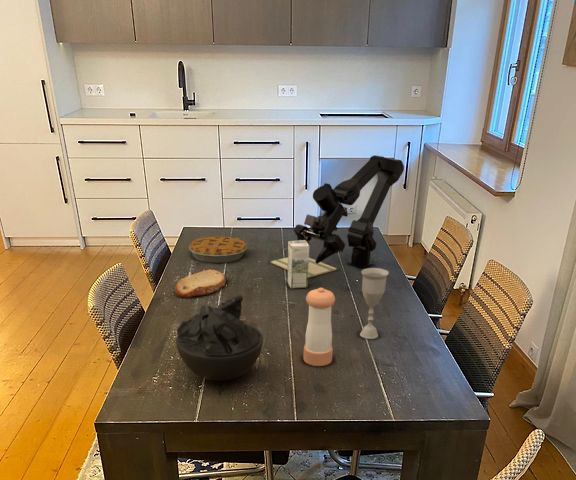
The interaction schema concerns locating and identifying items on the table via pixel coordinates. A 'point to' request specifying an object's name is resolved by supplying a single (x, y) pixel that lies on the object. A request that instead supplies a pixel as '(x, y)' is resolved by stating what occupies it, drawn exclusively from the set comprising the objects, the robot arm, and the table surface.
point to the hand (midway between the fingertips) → (305, 259)
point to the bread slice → (200, 284)
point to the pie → (218, 249)
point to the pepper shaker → (319, 328)
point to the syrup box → (298, 264)
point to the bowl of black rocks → (219, 342)
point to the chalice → (372, 296)
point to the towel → (313, 267)
